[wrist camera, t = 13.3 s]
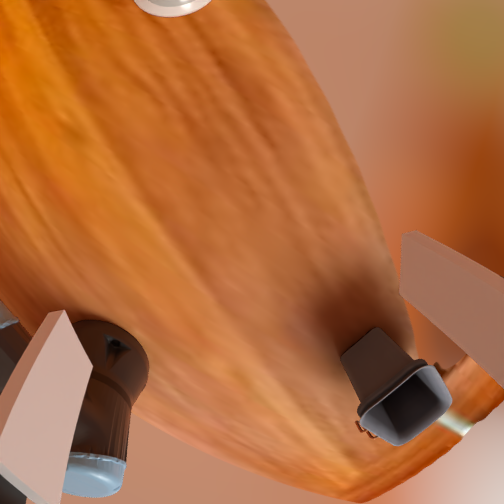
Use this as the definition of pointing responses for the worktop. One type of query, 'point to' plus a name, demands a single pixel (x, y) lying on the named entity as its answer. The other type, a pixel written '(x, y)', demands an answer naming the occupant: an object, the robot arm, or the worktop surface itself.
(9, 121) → the worktop surface
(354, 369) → the storage bin
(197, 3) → the coaster
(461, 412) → the worktop surface
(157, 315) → the worktop surface
